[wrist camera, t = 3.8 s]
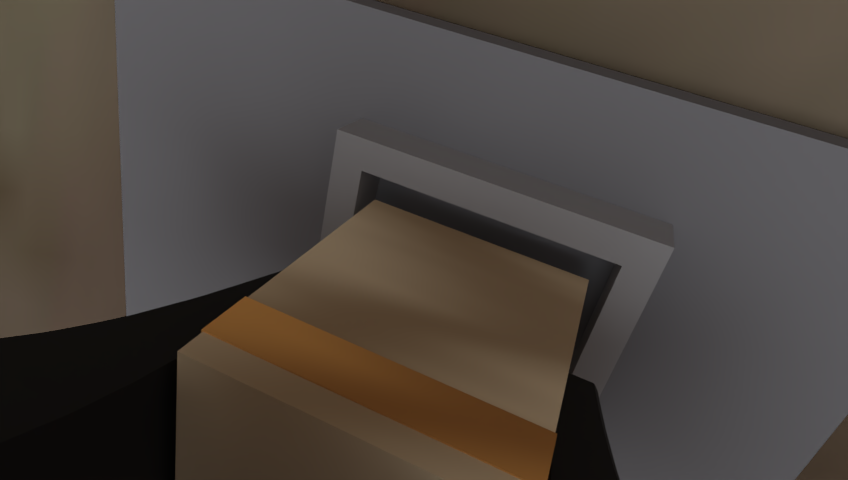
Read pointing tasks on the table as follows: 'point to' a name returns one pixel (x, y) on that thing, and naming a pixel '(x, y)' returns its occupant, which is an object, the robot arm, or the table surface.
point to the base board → (506, 204)
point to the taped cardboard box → (383, 362)
